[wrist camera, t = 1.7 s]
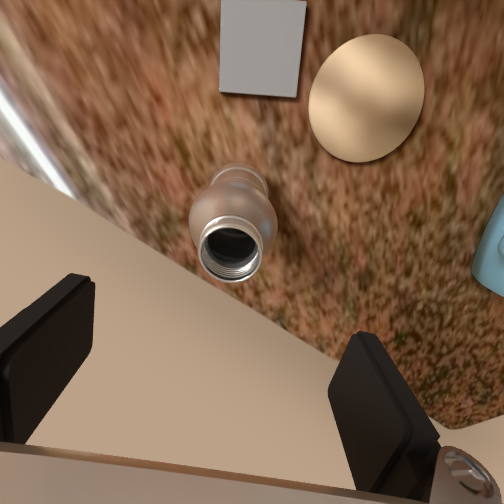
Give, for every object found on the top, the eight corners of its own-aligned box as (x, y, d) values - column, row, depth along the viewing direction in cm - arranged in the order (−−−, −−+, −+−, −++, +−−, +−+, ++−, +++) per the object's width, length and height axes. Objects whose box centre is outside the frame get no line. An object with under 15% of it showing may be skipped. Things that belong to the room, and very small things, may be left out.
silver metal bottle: (246, 225, 37) (245, 322, 18) (200, 192, 35) (149, 264, 17) (278, 183, 35) (313, 246, 16) (232, 147, 33) (213, 172, 15)
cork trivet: (329, 20, 29) (332, 18, 28) (440, 55, 30) (445, 53, 29) (294, 147, 33) (295, 147, 33) (391, 172, 35) (394, 173, 34)
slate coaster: (221, -3, 28) (221, -6, 27) (305, 4, 28) (306, 1, 28) (219, 92, 31) (219, 91, 30) (295, 97, 31) (295, 97, 31)
